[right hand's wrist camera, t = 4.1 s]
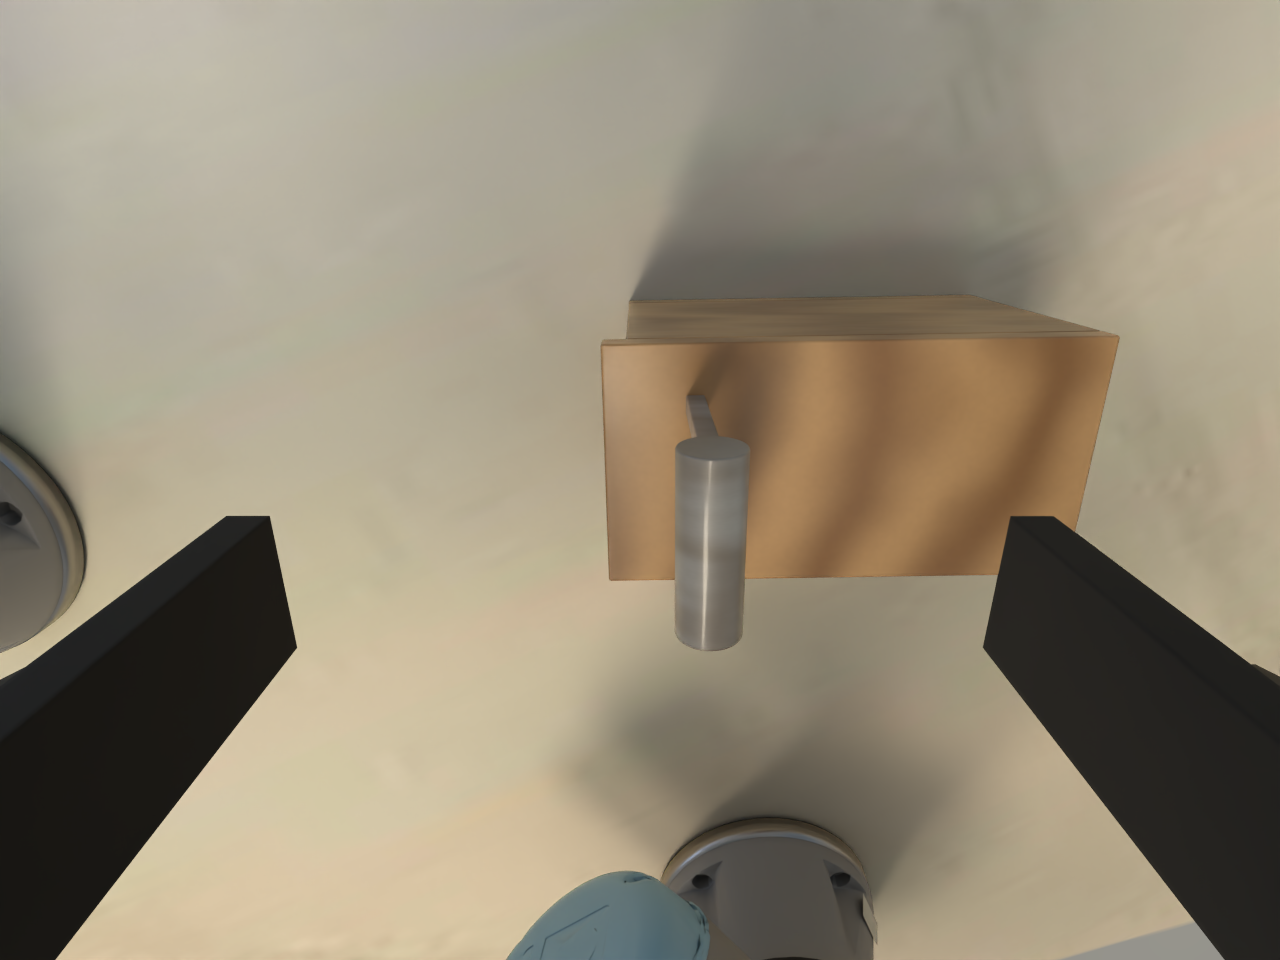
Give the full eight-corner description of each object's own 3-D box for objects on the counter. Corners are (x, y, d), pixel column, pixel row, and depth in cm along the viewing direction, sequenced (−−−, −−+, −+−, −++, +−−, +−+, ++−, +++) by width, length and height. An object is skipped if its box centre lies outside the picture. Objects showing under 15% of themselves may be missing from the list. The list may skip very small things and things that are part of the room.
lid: (610, 569, 30) (599, 701, 22) (601, 339, 26) (586, 397, 18) (1052, 562, 29) (1202, 692, 22) (1103, 330, 26) (1305, 385, 18)
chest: (632, 474, 40) (631, 568, 30) (629, 300, 36) (625, 338, 26) (944, 469, 40) (1051, 561, 30) (970, 294, 36) (1102, 330, 26)
